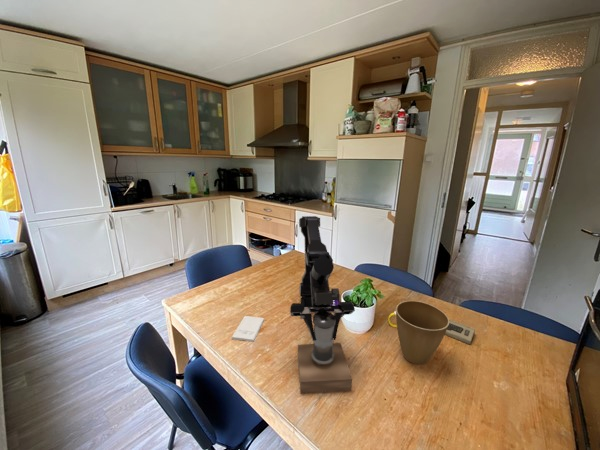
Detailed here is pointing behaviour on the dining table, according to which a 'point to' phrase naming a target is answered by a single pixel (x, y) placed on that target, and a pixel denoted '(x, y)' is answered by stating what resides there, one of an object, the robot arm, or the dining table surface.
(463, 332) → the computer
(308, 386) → the stand
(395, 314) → the watch
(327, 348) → the cylinder
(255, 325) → the external hard drive
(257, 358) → the dining table surface
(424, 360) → the brown hollow tapered container
